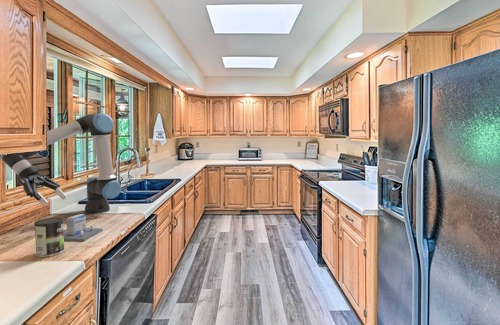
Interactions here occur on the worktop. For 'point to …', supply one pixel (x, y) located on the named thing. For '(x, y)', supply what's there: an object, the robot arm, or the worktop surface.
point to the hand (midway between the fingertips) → (56, 200)
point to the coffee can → (49, 237)
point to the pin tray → (82, 234)
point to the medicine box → (76, 224)
